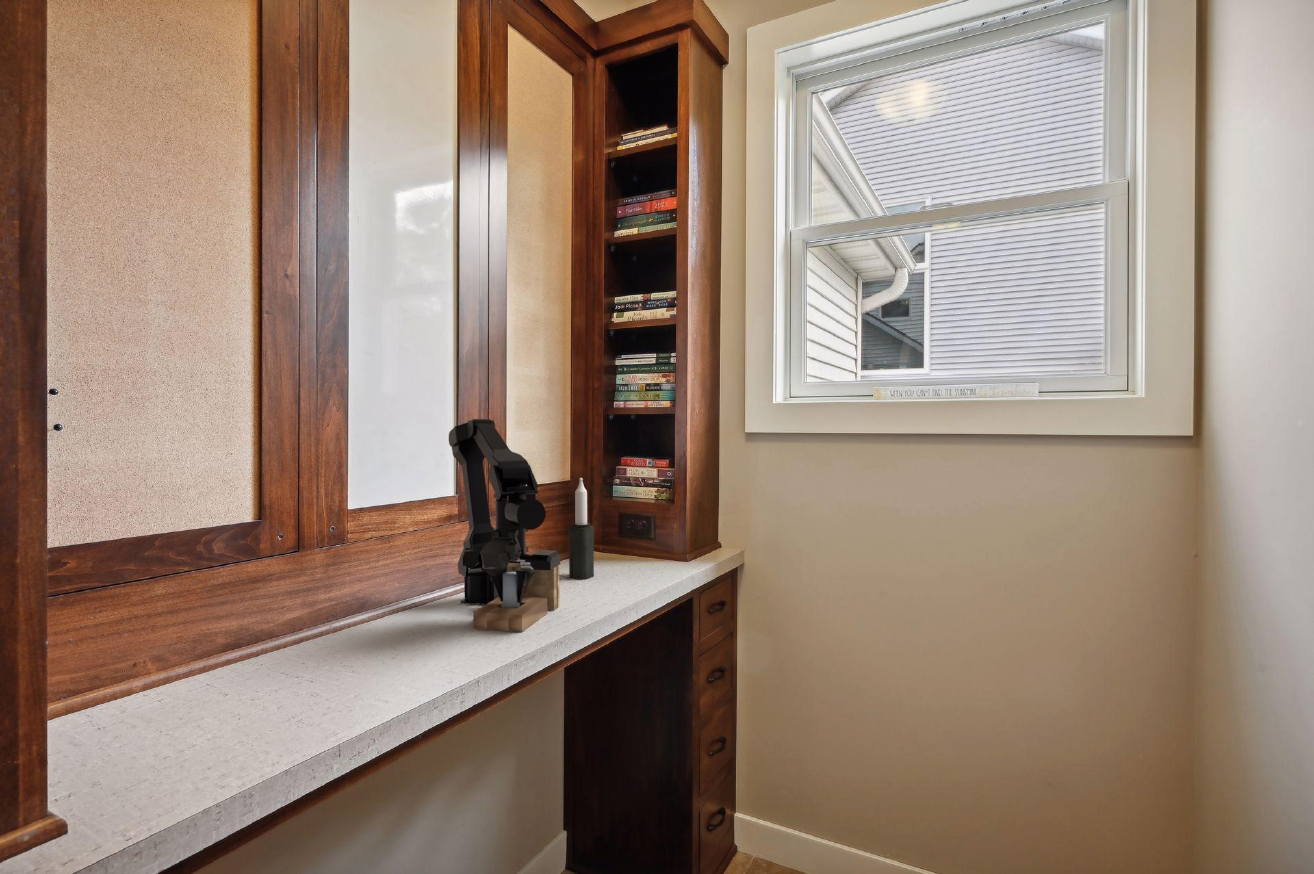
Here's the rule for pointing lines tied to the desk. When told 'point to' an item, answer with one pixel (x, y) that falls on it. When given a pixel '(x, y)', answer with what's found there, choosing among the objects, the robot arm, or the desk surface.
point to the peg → (510, 590)
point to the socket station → (522, 604)
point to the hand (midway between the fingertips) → (511, 601)
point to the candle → (581, 539)
